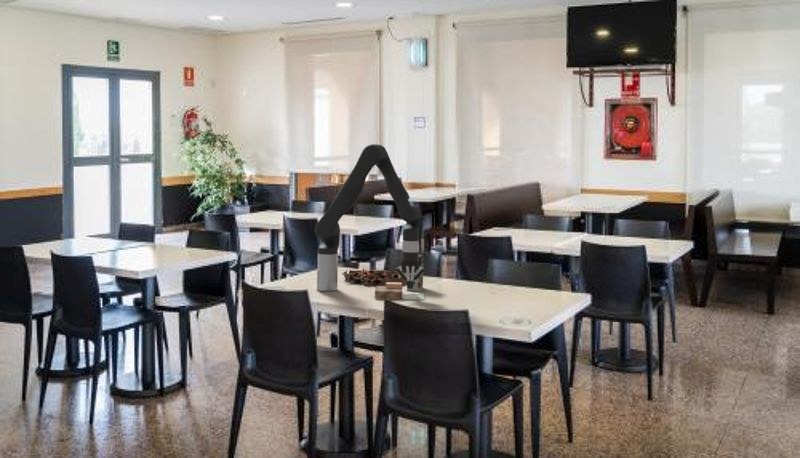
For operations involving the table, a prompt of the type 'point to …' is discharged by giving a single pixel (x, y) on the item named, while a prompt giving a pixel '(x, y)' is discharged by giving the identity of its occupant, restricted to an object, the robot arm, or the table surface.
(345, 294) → the table surface
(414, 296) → the cream card
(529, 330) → the table surface
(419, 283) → the coffee box
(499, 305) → the table surface
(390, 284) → the terracotta card
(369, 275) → the dried twig wreath
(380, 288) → the deck
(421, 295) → the mat
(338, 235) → the robot arm
